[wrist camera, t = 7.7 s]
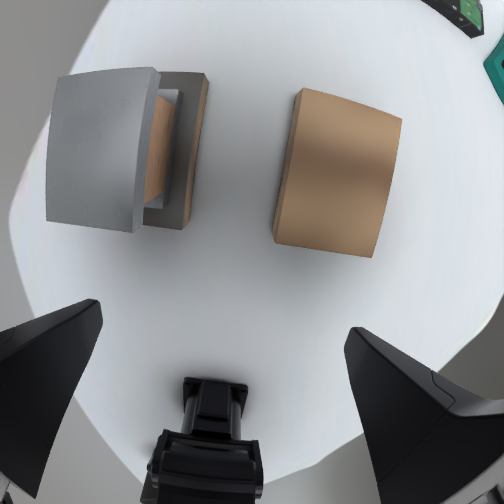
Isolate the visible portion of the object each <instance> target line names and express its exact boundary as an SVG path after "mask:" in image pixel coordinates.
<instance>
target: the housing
mask: <svg viewBox="0 0 504 504" xmlns="http://www.w3.org/2000/svg"><path fill="white" fill-rule="evenodd" d="M160 78H161V74H160V73H159V72H158V71H156V70H155V69H154V68H153V67H137V68H122V69H111V70H102V71H94V72H87V73H80V74H74V75H69V76H63V77H59V78H58V80H57V85H56V90H55V95H54V100H53V106H52V112H51V119H50V127H49V135H48V146H47V160H46V221H50V222H58V223H65V224H72V225H80V226H87V227H94V228H101V229H109V230H116V231H123V232H130V233H133V232H134V231H135V230H136V229H138V228H139V227H140V226H142V225H143V208H144V207H149V208H158V209H164V208H165V207H166V206H168V205H169V195H170V185H171V175H172V167H173V158H174V151H175V143H176V136H177V130H178V123H179V117H180V111H181V105H182V100H183V93H182V92H181V91H180V90H177V89H158V87H159V82H160Z"/></svg>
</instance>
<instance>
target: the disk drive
mask: <svg viewBox="0 0 504 504" xmlns="http://www.w3.org/2000/svg"><path fill="white" fill-rule="evenodd" d="M421 1H423V2H424V3H426V4H428V5H429V6H430V7H432V8H433V9H435V10H436V11H438V12H439V13H440V14H442V15H443V16H444V17H446V18H447V19H448V20H449V21H450V22H451V23H453V24H454V25H455V26H457V27H458V28H459V29H461V30H462V31H463V32H464V33H465V34H466V35H468V36H469V37H470V38H474V37H478V36H481V35H484V22H483V13H482V12H483V8H482V5H481V3H480V0H421Z"/></svg>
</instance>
